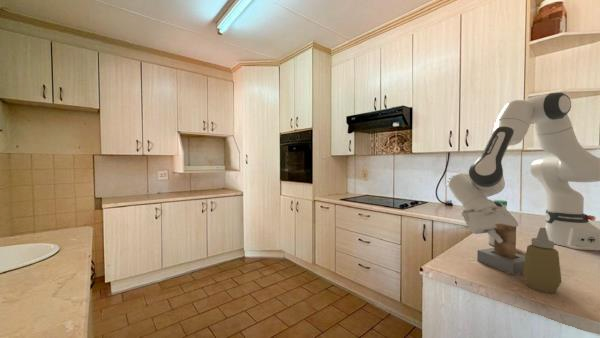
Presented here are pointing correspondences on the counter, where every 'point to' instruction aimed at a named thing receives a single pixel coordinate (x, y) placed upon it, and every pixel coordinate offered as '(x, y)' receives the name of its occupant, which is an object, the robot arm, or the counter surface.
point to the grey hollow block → (501, 261)
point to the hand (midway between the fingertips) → (506, 241)
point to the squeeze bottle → (542, 264)
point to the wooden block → (506, 241)
